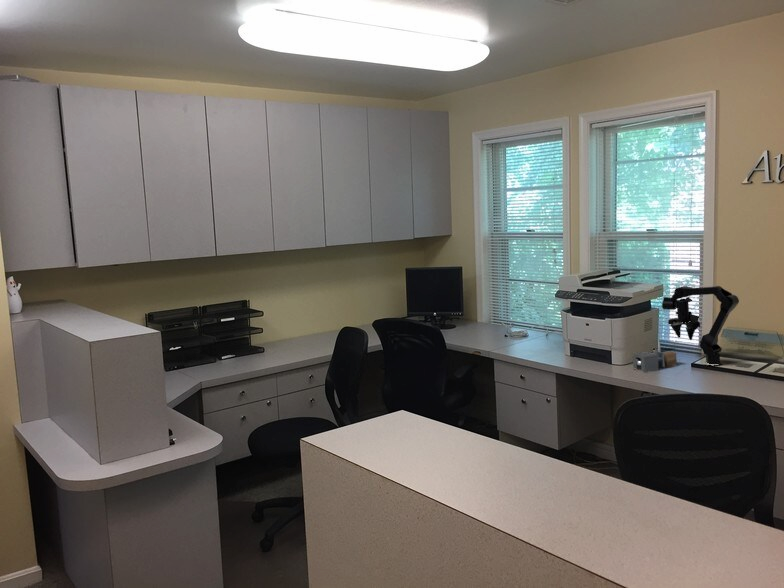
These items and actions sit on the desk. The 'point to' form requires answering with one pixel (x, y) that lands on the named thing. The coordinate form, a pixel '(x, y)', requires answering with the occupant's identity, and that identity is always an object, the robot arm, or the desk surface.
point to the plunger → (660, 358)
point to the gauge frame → (645, 361)
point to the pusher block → (670, 359)
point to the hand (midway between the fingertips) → (684, 338)
